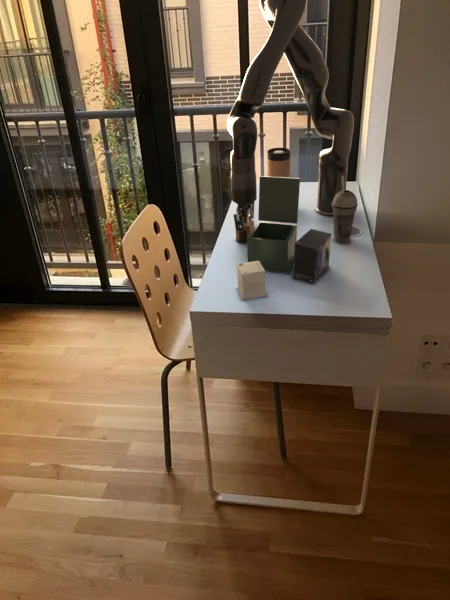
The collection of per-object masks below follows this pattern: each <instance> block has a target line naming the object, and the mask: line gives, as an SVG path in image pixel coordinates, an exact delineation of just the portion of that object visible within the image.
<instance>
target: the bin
mask: <svg viewBox="0 0 450 600" xmlns="http://www.w3.org/2000/svg"><path fill="white" fill-rule="evenodd" d="M297 241H298V224H295V223H283V222H271V221H257V223H256V224H255V225H254V229H253V230H252V232H251V233H250V235H249V236H248V238H247V242H246V248H247V249H246V251H247V262H253V261H260V263H261V265H262V266H263V268H264V270H265V272H273V273H275V272H276V273H284V274H288V273H289V270H290V269H291V267H292V264H293V263H294V244H295V243H296V242H297Z"/></svg>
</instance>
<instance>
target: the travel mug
mask: <svg viewBox="0 0 450 600" xmlns="http://www.w3.org/2000/svg"><path fill="white" fill-rule="evenodd" d="M266 152H267V173H266V174H267V177H285V178H291V150H290V149H289V148H287V147H272V148H269V149H268V150H267V151H266Z"/></svg>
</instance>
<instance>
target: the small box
mask: <svg viewBox="0 0 450 600" xmlns="http://www.w3.org/2000/svg"><path fill="white" fill-rule="evenodd" d="M331 243H332V233H331V232H327V231H323V230H317V229H313V228H310V229H309V230H308V231H307V232H306V233H305V234H303V235H302V236H300V237H299V239H297V242H296V243H295V244H294V260H293V271H292V272H293V274H292V279H294V280H298V281H301V282H305V283H309V284H315V283H316V282H317V280H319V279H320V278H321V276H322V275H324V273H325V272H326V271H327V270H328V269H329V267H330V255H331V254H330V253H331Z"/></svg>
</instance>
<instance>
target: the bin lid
mask: <svg viewBox="0 0 450 600" xmlns="http://www.w3.org/2000/svg"><path fill="white" fill-rule="evenodd" d="M300 184H301V178H300V177H290V178H285V177H267V176H265V175H260V176H259V185H258V186H259V189H258V191H259V192H258V219H257V220H258V222H271V223H283V224H294V225H298V220H299V219H298V217H299V205H300V203H299V201H300V186H301V185H300Z"/></svg>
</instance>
